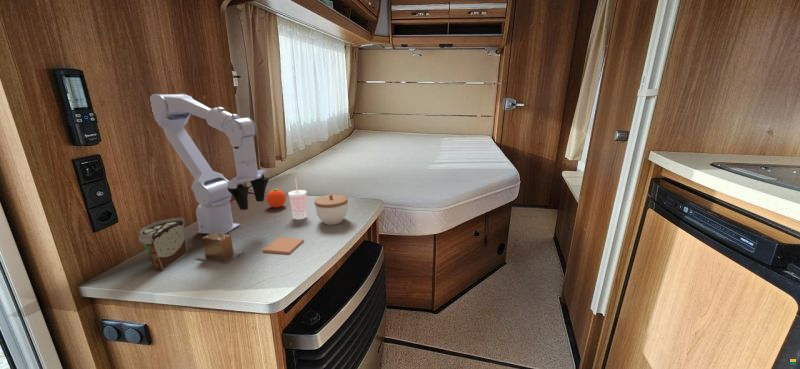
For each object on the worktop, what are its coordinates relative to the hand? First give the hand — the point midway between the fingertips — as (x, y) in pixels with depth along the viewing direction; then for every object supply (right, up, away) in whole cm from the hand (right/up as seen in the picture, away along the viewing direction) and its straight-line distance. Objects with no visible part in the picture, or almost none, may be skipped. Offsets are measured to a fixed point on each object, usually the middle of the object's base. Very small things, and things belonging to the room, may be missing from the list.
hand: (252, 205), depth 99 cm
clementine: (-2, -2, +27) cm, 27 cm away
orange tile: (+8, -11, -5) cm, 15 cm away
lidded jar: (+22, -6, +11) cm, 25 cm away
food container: (-17, -14, -13) cm, 26 cm away
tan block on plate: (-4, -13, -11) cm, 18 cm away
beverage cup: (+10, -5, +16) cm, 19 cm away
